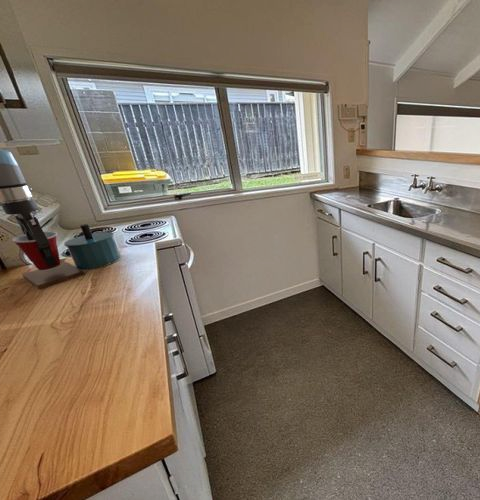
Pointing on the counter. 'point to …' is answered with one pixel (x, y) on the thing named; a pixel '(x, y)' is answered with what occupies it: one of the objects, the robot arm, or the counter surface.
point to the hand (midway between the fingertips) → (48, 263)
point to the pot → (95, 254)
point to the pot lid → (88, 237)
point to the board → (53, 275)
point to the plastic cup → (31, 247)
